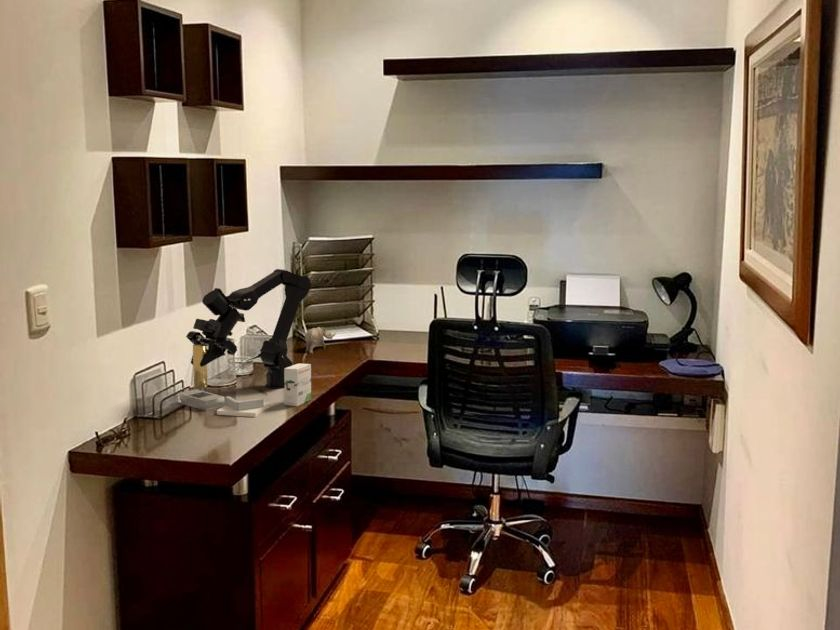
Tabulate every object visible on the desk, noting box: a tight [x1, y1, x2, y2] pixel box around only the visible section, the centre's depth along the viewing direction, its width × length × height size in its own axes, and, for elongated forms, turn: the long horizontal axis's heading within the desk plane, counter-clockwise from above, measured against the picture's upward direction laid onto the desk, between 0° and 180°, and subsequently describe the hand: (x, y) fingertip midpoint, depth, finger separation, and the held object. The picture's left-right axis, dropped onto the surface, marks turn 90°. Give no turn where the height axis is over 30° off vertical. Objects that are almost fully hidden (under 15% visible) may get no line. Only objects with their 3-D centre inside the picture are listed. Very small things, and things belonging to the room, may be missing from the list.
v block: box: [216, 395, 270, 418], centre depth 252 cm, size 12×12×4 cm
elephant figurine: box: [304, 326, 337, 354], centre depth 344 cm, size 8×14×15 cm
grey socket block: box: [179, 388, 225, 412], centre depth 258 cm, size 14×7×3 cm, turn 52°
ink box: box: [284, 363, 312, 407], centre depth 261 cm, size 9×5×12 cm, turn 156°
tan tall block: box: [192, 344, 208, 389], centre depth 256 cm, size 4×4×13 cm
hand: (196, 364), depth 255 cm, fingers closed on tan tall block, 4 cm apart
